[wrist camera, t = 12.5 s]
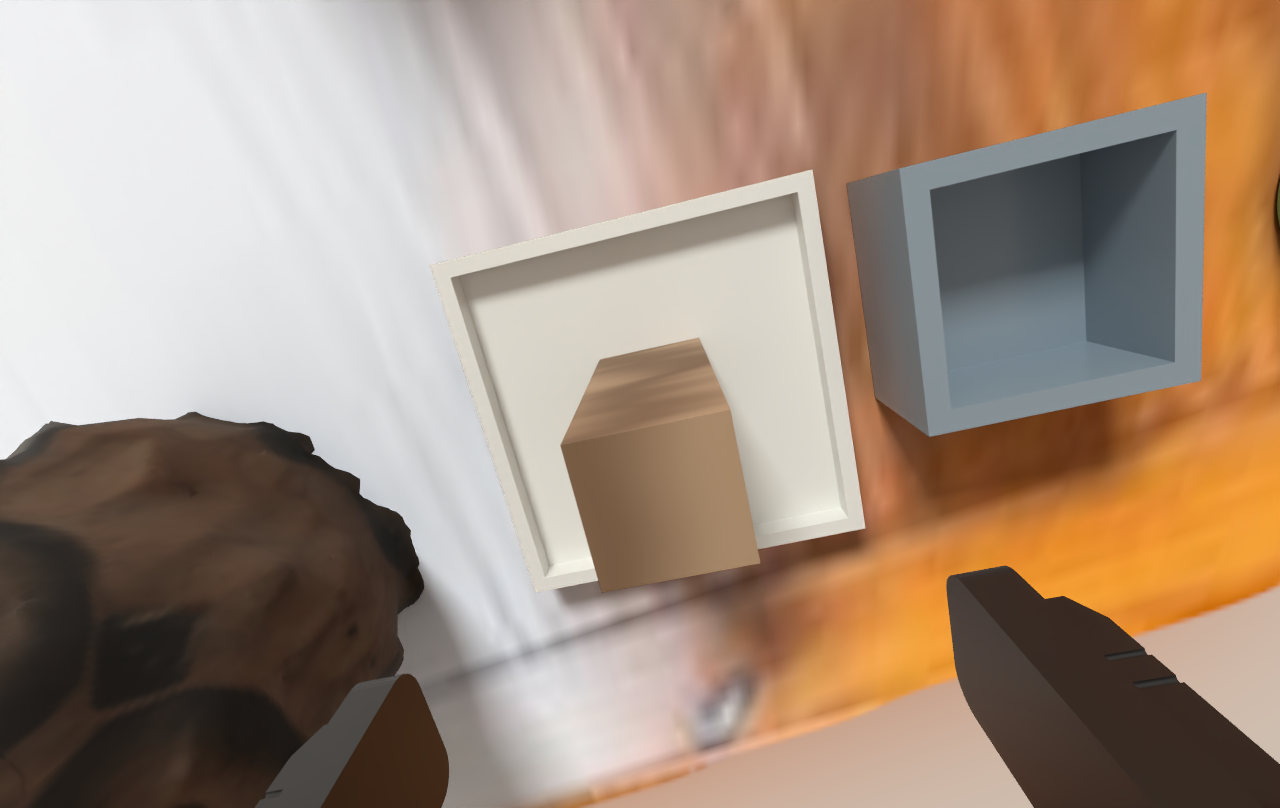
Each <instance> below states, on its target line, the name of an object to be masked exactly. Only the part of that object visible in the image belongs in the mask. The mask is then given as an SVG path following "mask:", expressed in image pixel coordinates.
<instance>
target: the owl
mask: <svg viewBox="0 0 1280 808" xmlns="http://www.w3.org/2000/svg"><path fill="white" fill-rule="evenodd" d="M314 450H315V449H314V447H313V444H312V442H311V440H310V437H309V436H307V435H304V434H302V433H295V432H288V431H285V430H283V429H281V428H279V427H277V426H275V425H273V424H271V423H267V422H257V423H248V424H247V423H234V422H230V421H223V420H219V419H214V418H210V417H206V416H203V415H201V414H199V413H197V412H190V413H187V414H186V415H184V416H181V417H179V418H177V419H175V420H160V419H145V418H136V419H128V420H120V421H111V422H103V423H95V424H87V425H79V426H77V425H71V424H65V423H59V422H52V421H50V423H49V424H45V425H44V426H43V427H42V428H41V429H40V430H39V431H38V432H37V433H35V434H34V435H33V436H31V437H30V438H28V439H26V440H25V441H24V442H23V443H22V444H21V445H20V446H19V447H18V448H17V449H16V451H14V452H13V453H12V454H11V455H10V456H9V457H8V458H7V459H5V460H0V808H255V806H256V805H257V804H258V802H259V801H260V800H261V799H265V797H266V791H267V790H268V788H269V787H270V785H271V784H272V782H273V781H274V780H275V778H276V777H277V775H278V774H279V773H280V771H281V770H282V768H283V767H284V766H285V764H286V763H287V761H288V760H289V758H290V757H291V756H292V755H293V754H294V753H295V752H296V751H297V750H298V749H299V748H300V747H302V746H303V745H304V744H305V743H306V742H307V741H308V740H309V739H310V738H311V737H312V736H313V735H314V734H315V733H316V732H317V731H318V730H319V729H321V728H322V727H323V726H324V725H326V724H328V723H329V721H330V720H331V718H332V717H333V716H334V714H335V713H336V711H337V710H338V708H339V707H340V705H341V704H342V702H343V701H344V699H345V698H346V696H347V695H348V693H349V692H350V691H351V689H352V688H353V687H354V686H355V685H356V684H358V683H360V682H364V681H370V680H375V679H381V678H386V677H392V676H395V674H396V672H397V671H398V669H399V668H400V666H401V664H402V662H403V654H404V649H403V647H402V645H401V642H400V640H399V638H398V636H397V615H398V614H399V613H400V612H401V611H402V610H403V609H404V608H406V607H408V606H410V605H412V604H414V603H415V602H416V601H417V599H418V598H419V597H420V595H421V593H422V592H423V589H424V584H423V579H422V577H421V574H420V572H419V570H418V565H419V562H418V557H417V555H416V554H415V549H414V547H413V545H412V540H411V538H410V532H411V530H410V529H409V528H408V527H407V526H406V524H405V523H404V520H403V518H402V517H401V516H400V515H399V514H398V513H397V512H395V511H392V510H390V509H388V508H385V507H382V506H378V505H376V504H374V503H372V502H371V501H369V500H368V499H365V498H363V497H362V496H361V495H360V494H359V488H360V479H359V478H357V477H355V476H354V475H352V474H351V473H349V472H345V471H342V470H338V469H335V468H333V467H332V466H330V465H329V464H328V463H326V462H325V461H324V460H323V459H322V458H321V457H319V456H316V455H313V454H311V453H312V452H313V451H314Z"/></svg>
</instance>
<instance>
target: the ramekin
mask: <svg viewBox="0 0 1280 808" xmlns="http://www.w3.org/2000/svg"><path fill="white" fill-rule="evenodd" d="M1277 212H1278V220H1279V225H1280V184H1279V189H1278V198H1277Z"/></svg>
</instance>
